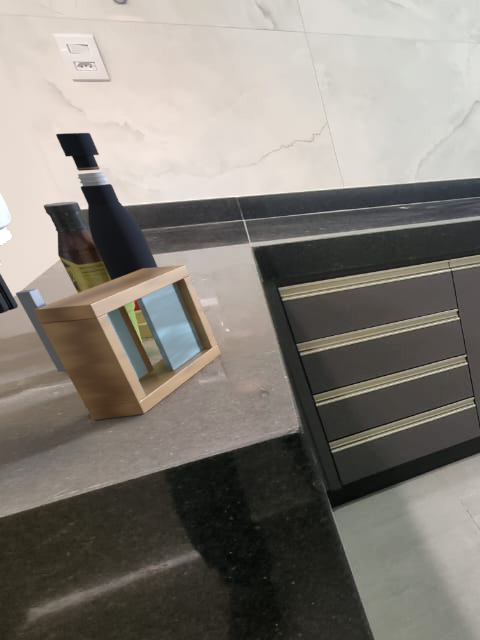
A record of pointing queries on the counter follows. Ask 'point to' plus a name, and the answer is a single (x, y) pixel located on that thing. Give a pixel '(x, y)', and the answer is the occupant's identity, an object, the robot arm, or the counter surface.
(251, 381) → the counter surface
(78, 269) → the sauce bottle
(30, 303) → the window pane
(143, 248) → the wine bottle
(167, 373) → the window frame
